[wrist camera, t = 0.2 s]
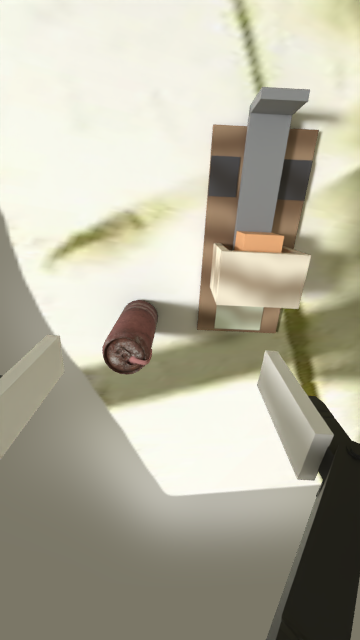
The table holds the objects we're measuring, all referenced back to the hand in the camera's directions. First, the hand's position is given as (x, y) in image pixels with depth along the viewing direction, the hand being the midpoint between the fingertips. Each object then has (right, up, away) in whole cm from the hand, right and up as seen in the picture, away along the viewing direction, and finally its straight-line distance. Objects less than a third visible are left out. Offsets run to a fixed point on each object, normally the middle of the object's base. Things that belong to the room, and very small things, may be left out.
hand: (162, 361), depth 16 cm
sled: (+12, +20, +20) cm, 31 cm away
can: (-6, +3, +29) cm, 30 cm away
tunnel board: (+12, +15, +24) cm, 30 cm away
